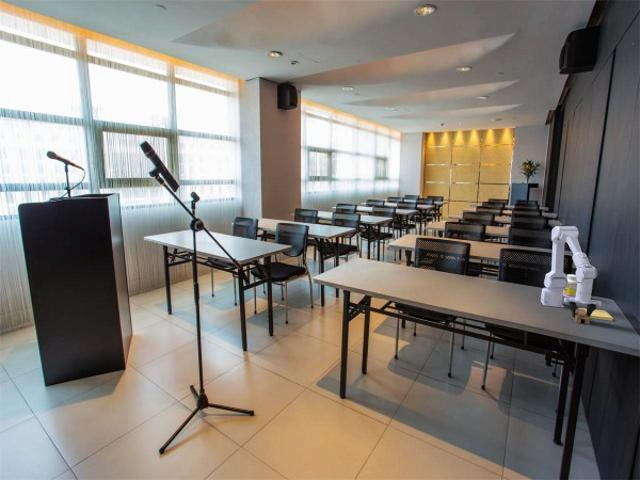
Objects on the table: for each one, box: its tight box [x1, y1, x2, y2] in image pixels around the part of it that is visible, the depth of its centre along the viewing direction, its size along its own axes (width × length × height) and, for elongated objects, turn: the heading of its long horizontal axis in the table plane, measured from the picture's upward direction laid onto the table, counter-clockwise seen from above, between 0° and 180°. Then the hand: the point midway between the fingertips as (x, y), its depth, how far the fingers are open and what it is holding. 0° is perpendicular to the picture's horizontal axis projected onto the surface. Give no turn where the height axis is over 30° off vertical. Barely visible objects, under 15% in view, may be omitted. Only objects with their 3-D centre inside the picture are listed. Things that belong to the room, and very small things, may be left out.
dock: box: [578, 307, 614, 322], centre depth 171 cm, size 11×10×2 cm
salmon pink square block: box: [576, 308, 586, 316], centre depth 165 cm, size 3×3×2 cm
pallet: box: [570, 313, 591, 325], centre depth 166 cm, size 5×8×3 cm, turn 158°
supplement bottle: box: [563, 273, 578, 298], centre depth 197 cm, size 7×7×13 cm
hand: (580, 317), depth 166 cm, fingers closed on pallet, 5 cm apart
